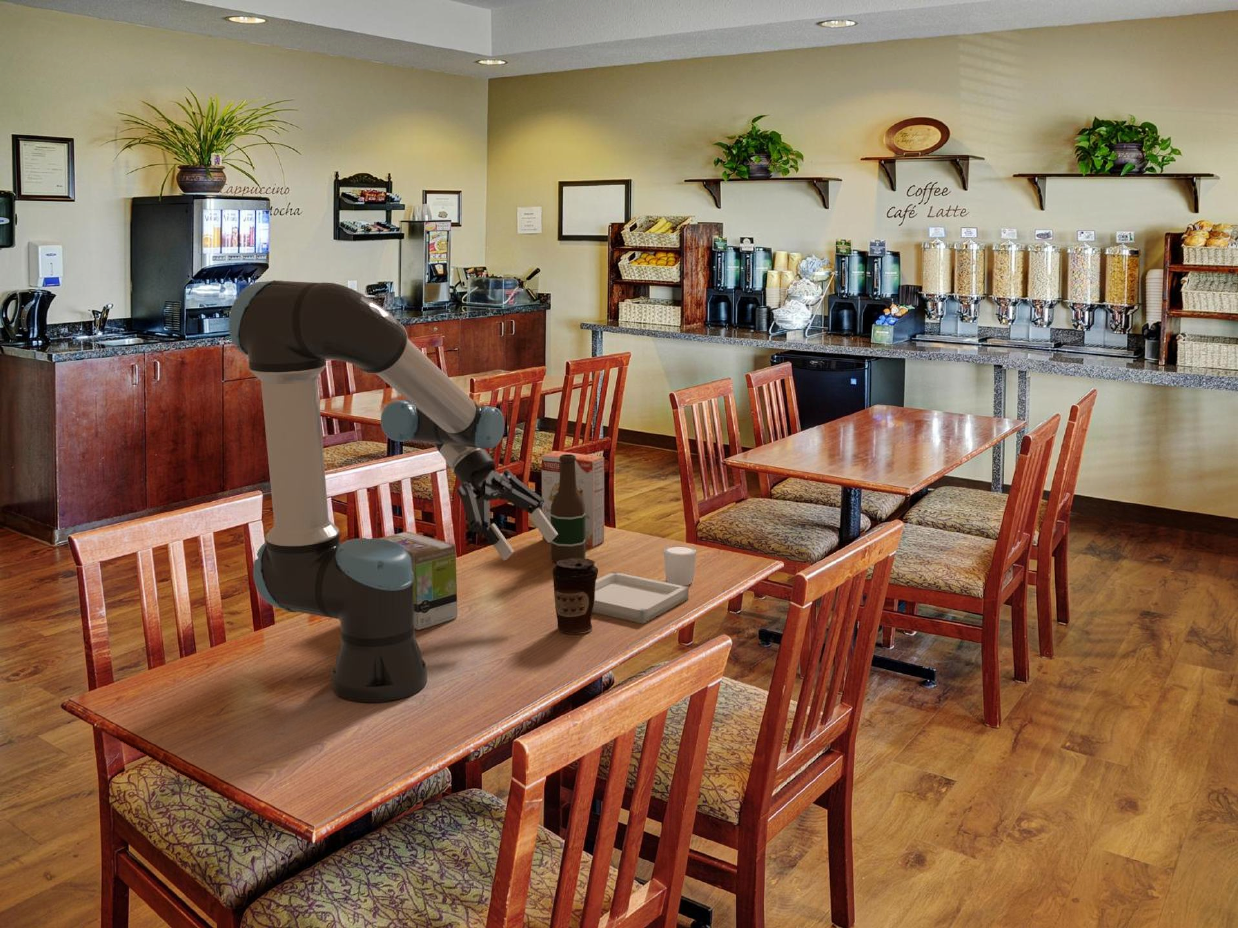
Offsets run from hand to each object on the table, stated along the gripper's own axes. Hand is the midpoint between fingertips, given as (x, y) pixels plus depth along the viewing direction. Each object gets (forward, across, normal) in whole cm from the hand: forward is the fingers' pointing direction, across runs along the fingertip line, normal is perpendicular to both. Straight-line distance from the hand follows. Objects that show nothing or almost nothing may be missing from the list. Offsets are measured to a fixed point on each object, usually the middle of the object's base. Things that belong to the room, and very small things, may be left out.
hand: (531, 547), depth 210 cm
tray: (+17, -18, -3) cm, 25 cm away
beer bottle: (-1, -34, -21) cm, 40 cm away
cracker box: (-6, -47, -27) cm, 54 cm away
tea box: (-4, +11, -24) cm, 27 cm away
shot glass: (+19, -34, -1) cm, 39 cm away
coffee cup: (+17, 0, -3) cm, 18 cm away
